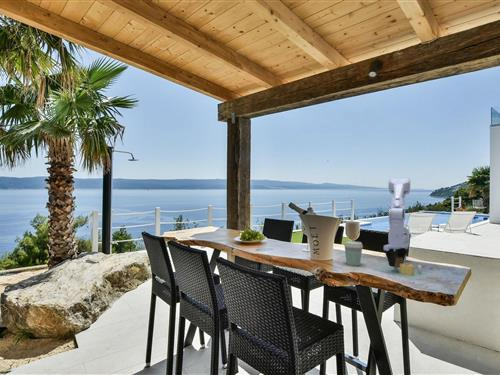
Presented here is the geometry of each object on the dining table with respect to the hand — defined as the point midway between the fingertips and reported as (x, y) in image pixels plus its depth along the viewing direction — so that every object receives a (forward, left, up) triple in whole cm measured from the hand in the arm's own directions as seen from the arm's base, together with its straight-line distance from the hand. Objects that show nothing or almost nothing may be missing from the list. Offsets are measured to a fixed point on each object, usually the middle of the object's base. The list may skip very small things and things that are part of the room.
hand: (395, 265), depth 135 cm
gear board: (+1, +2, -4) cm, 4 cm away
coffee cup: (-17, -8, -4) cm, 19 cm away
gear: (0, 0, 0) cm, 0 cm away
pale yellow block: (+5, 0, -2) cm, 6 cm away
